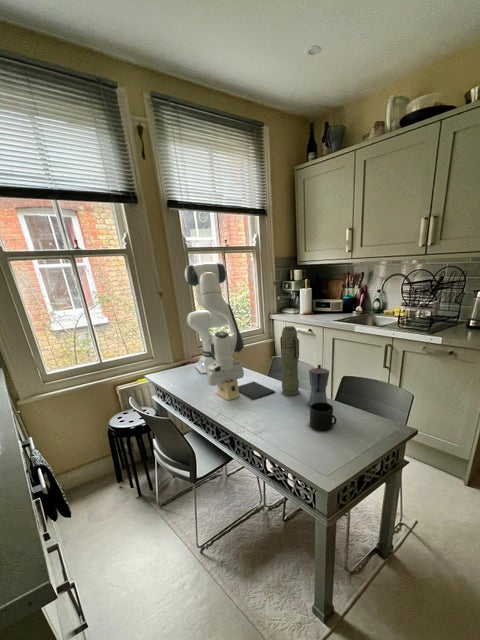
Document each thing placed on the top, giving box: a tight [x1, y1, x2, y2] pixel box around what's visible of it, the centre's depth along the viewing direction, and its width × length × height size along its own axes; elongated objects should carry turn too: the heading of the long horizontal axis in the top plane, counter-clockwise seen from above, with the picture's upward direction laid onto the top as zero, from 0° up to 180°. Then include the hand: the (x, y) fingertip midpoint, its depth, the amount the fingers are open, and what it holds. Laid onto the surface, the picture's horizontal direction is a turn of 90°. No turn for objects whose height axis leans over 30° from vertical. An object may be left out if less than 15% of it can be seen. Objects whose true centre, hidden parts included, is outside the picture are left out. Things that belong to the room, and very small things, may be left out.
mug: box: [309, 402, 338, 432], centre depth 132 cm, size 9×12×9 cm
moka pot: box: [308, 364, 330, 406], centre depth 150 cm, size 10×15×20 cm, turn 174°
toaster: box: [216, 379, 240, 401], centre depth 168 cm, size 13×6×9 cm, turn 37°
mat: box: [238, 381, 276, 401], centre depth 174 cm, size 20×14×1 cm
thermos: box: [279, 325, 300, 397], centre depth 162 cm, size 9×12×35 cm
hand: (227, 389), depth 168 cm, fingers closed on toaster, 6 cm apart
